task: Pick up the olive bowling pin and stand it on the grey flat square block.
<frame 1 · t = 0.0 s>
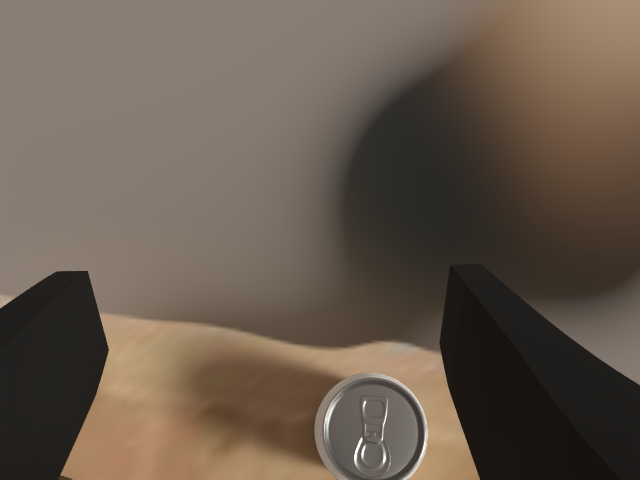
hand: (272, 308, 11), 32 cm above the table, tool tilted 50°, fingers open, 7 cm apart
can: (357, 428, 41), on the table
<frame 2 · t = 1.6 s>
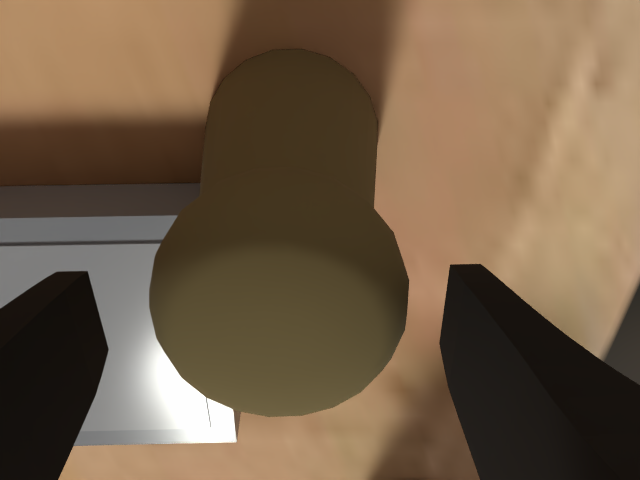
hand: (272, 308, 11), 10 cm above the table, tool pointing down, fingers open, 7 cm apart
olive bowling pin: (292, 135, 19), on the table
grey flat square block: (99, 306, 23), on the table
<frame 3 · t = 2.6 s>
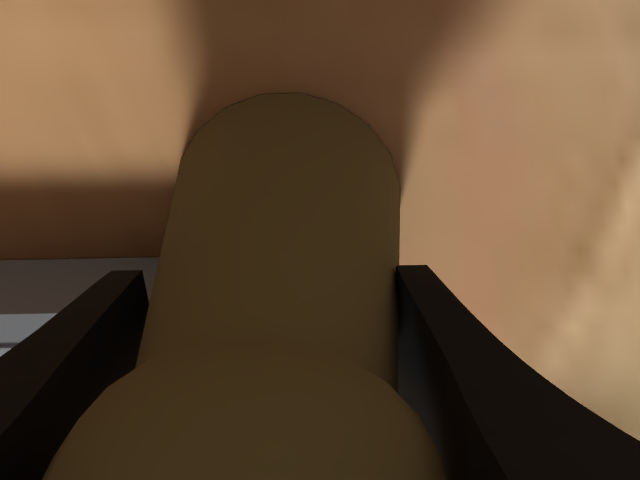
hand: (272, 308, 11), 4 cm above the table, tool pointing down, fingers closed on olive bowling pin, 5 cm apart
olive bowling pin: (288, 200, 15), on the table, touching gripper
grey flat square block: (50, 398, 18), on the table
when the fingers open (8 cm above the table, at t = 5.3 s): olive bowling pin stays where it is, resting on grey flat square block.
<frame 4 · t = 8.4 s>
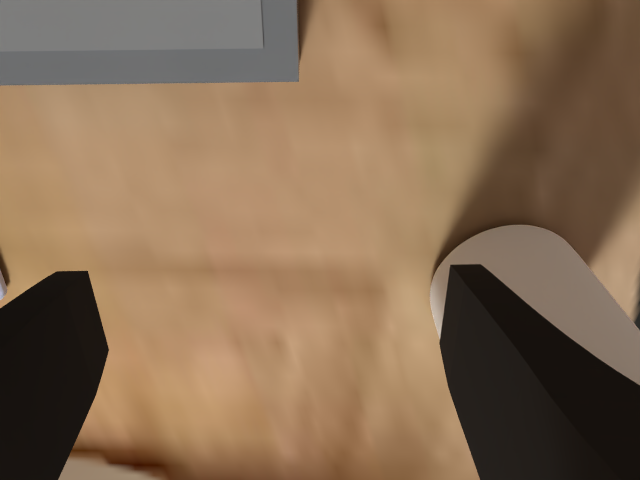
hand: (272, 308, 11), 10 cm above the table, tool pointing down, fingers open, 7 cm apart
can: (500, 281, 24), on the table
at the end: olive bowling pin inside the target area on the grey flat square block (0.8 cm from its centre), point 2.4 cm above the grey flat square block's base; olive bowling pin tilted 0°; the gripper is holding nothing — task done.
